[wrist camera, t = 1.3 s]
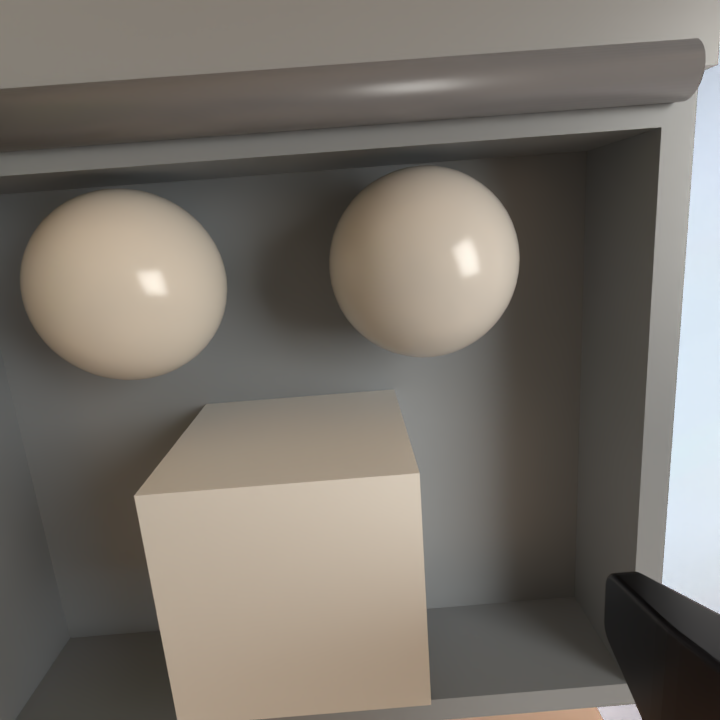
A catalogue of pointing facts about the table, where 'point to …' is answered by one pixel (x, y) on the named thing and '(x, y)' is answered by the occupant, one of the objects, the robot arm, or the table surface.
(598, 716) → the bin
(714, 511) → the table surface
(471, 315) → the cream glossy ball
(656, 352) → the bin
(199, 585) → the beige cube
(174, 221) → the pebble
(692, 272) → the table surface
